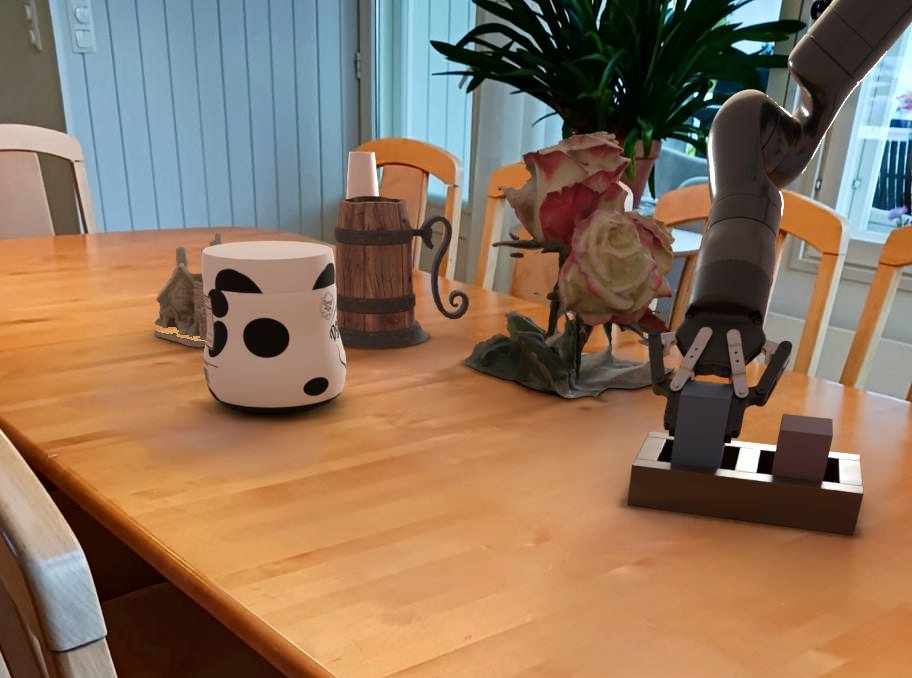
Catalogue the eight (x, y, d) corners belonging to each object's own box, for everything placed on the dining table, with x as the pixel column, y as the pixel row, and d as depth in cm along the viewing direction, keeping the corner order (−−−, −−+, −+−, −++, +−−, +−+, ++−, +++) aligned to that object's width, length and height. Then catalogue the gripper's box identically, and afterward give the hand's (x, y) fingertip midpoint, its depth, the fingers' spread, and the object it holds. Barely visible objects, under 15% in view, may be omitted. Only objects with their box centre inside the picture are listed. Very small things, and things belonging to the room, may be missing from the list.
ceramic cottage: (164, 322, 160) (154, 225, 152) (263, 328, 160) (259, 232, 152) (136, 351, 147) (124, 246, 139) (244, 357, 147) (238, 253, 139)
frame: (853, 535, 87) (863, 493, 85) (627, 504, 93) (631, 465, 91) (850, 493, 97) (860, 454, 95) (644, 467, 102) (649, 430, 100)
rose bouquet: (587, 410, 120) (612, 138, 105) (446, 361, 141) (450, 128, 126) (722, 380, 134) (761, 135, 119) (575, 340, 154) (593, 126, 139)
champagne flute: (342, 290, 189) (337, 152, 177) (355, 284, 194) (351, 150, 182) (374, 293, 187) (372, 153, 175) (386, 287, 192) (385, 152, 181)
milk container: (374, 398, 124) (372, 247, 115) (285, 432, 111) (274, 266, 102) (272, 377, 132) (262, 235, 123) (177, 407, 119) (159, 251, 110)
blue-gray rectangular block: (675, 458, 98) (687, 379, 94) (721, 464, 97) (735, 384, 93) (668, 476, 93) (680, 394, 89) (716, 482, 92) (730, 399, 88)
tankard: (327, 349, 146) (321, 205, 136) (317, 326, 161) (311, 193, 151) (478, 345, 150) (484, 204, 140) (455, 322, 165) (459, 193, 155)
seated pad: (767, 492, 96) (782, 413, 92) (815, 498, 95) (832, 418, 91) (764, 512, 92) (780, 429, 88) (814, 518, 91) (833, 435, 87)
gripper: (658, 251, 94) (622, 407, 90) (813, 261, 90) (783, 425, 86) (658, 298, 101) (625, 445, 97) (802, 309, 97) (774, 464, 93)
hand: (700, 435), depth 91 cm, fingers closed on blue-gray rectangular block, 4 cm apart
